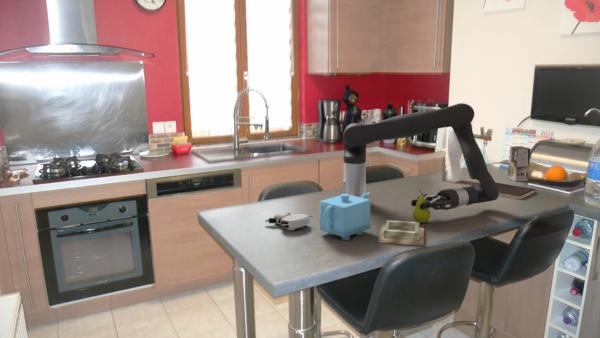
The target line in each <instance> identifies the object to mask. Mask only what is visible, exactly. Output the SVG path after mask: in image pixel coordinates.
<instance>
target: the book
mask: <svg viewBox="0 0 600 338" xmlns="http://www.w3.org/2000/svg"><path fill="white" fill-rule="evenodd" d="M496 184H497V186H498V188H499V196H500V197H504V198H511V199H516V200H521V199H524V198H526V197H528V196H530V195H532V194H534V193H536V189H535V188H532V187H531V188H530V187H525V186H519V185H512V184H508V183H500V182H496ZM476 185H481V183H480V182H477V183H475V184H473V185H470V186H469V185H468V187H472V186H476ZM499 196H498V197H499Z"/></svg>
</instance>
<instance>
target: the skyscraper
mask: <svg viewBox="0 0 600 338" xmlns="http://www.w3.org/2000/svg"><path fill="white" fill-rule="evenodd" d="M447 154H448V161H449V162H448V167H447V164H446V158H443V165H442V175H441V176H442V178H441V182H445V183H452V184H455V183H459V182H461V181H462V169H461V168H462V167H461V158H462V157H463V153H462V150H461V147H460V144H459V141H458V139H457V137H456V134H455V132H454V131H453V129H452V127H449V132H448V140H447ZM446 171H447V172H446Z"/></svg>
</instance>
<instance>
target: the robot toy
mask: <svg viewBox="0 0 600 338" xmlns="http://www.w3.org/2000/svg"><path fill="white" fill-rule="evenodd" d="M313 217H315V215H314V214H313V215H310V216H309V215H308V214H305V213H294V214H291V213H290V212H279V213H277V214H274V215H273V217H270V218H267V219H265V220H264V221H265V223H268V224H276V225H277V224H280V225H279V226H280V227H281V228H284V229H286V230H287V231H290V230H292V231H295V230H296V229H299V228H303V227H305V226H307V225H308V224H310V223H311V222H310V221H311V219H310V218H313Z"/></svg>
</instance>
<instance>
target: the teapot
mask: <svg viewBox="0 0 600 338" xmlns="http://www.w3.org/2000/svg"><path fill="white" fill-rule="evenodd" d="M370 194H371V192H369V191H368V192H365V193H364V194H363V195H362V197H356V196H352V195H348V194H343V193H341V194H340V195H337V196H333V197H330V198H326V199H323V200H319V230H321V231H323V232H326V234H327V235H328V234H329V235H328V236H334V235H335V236H337V237H340V238H341V240H342V241H349V240H351V238H350V236H353V235H357V236H362V235H364V231H366V230H369V229H371V199H368V198H367V197H368V196H369V195H370Z"/></svg>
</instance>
